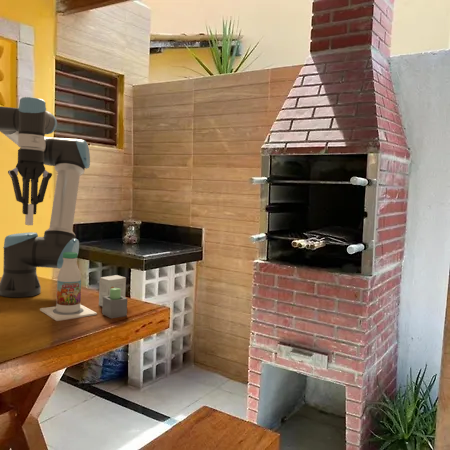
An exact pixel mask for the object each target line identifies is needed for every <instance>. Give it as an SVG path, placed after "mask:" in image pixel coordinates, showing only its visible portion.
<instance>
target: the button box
mask: <svg viewBox="0 0 450 450" xmlns="http://www.w3.org/2000/svg"><path fill="white" fill-rule="evenodd" d="M101 312H102V315H104V316H105V317H108V318H109V319H115V318H117V319H118V318H123V317H127V316H128V298H127V297H126V296H125V297H123V296H121V299H116V300H112V299H110V296H105V297H103V307H102V310H101Z"/></svg>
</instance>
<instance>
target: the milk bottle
mask: <svg viewBox="0 0 450 450" xmlns="http://www.w3.org/2000/svg"><path fill="white" fill-rule="evenodd" d="M63 260H64V261H63V265H62V267H61V269H59V271H58V274H57V280H56V281H57V285H56V304H55V306H56V310H57V311H58V312H60V313H75V312H78V311H79V310H80V304H81V299H82V297H81V295H82V275H81V274H82V273H81V270H80V269H79V266H78V261H77V260H78V256H77V253H76V252H64V253H63Z"/></svg>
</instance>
